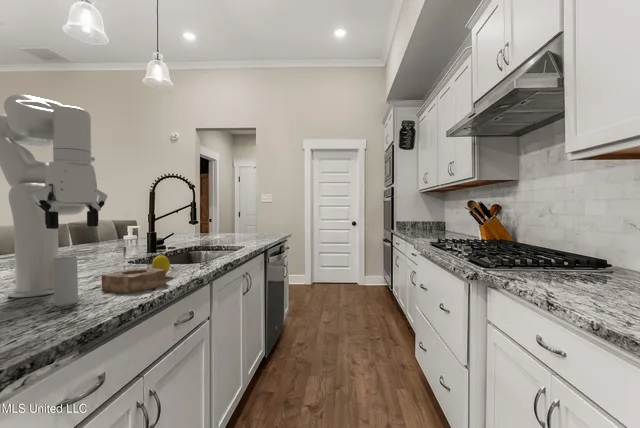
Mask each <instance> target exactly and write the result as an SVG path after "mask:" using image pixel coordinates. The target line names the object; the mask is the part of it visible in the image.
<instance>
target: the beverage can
mask: <svg viewBox="0 0 640 428" xmlns="http://www.w3.org/2000/svg"><path fill="white" fill-rule="evenodd" d="M53 258H54V259H53V288H54V293H53V304H54V306H56V307H68V306H73V305H75V304H77V303H78V302H79V285H78V284H79V282H78V281H79V280H78V279H79V278H78V258H77V255H76V254H65V255H59V256H55V257H53Z"/></svg>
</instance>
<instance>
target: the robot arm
mask: <svg viewBox="0 0 640 428" xmlns="http://www.w3.org/2000/svg"><path fill="white" fill-rule="evenodd" d="M3 109H4V111H5V113H6V114H2V113H0V169H1V171H2V174H3V175H4V177H5V180H6V182H7V183H8V185H9V186H10V187H11V188H10V189H9V191H8V203H9V207H10V211H11V215H12V221H13V239H14V264H15V265H14V269H15V270H14V271H15V279H14V280H12V284H13V285H15V289H12V290H9V291H8V292H7V296H8V297H10V298H15V299H18V298H19V299H20V298H31V297H41V296H46V295H52V294H54V288H53V259H54V258H53V257H55V256H60V253H59V249H60V248H59V231H58V229H59V216H74V215H79V214H81V213H83V212H84V210H85V209H86V208H87V209H88V210H87V211H86V226H88V227H99V212H100V211H102V208H103V207H104V206H105V204H106V200H107V199H108V194H107V193H105V192H104V191H101V190H99V189H98V183H97V177H96V176H97V175H96V171H95V167H94V165H92V162H95V161H96V159H95V157H94V156H93V155H92V127H91V126H92V124H91V123H92V121H91V120H92V119H91V115H90V113H89V112H88V111H87V110H86V109H83V108H80V107H77V106H71V105H63V104H61V103H60V102H57V101H53V100H51V99H50V100H49V99H45V98H40V97H36V96H32V95H27V94H22V93H21V94H12V95H9V96H8V97H7V98H6V99H5V100H4V102H3ZM23 145H26V146H34V147H44V148H45V147H49V146H50V147H51V145H52V161H50V162H44V161H38V160H37V159H36V157H35V156H34V154H33V153H32V152H31V151H30V150H29V149H27V148H26V147H24V146H23Z"/></svg>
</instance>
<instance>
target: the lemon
mask: <svg viewBox="0 0 640 428" xmlns="http://www.w3.org/2000/svg"><path fill="white" fill-rule="evenodd" d="M170 265H171V264H170V260H169V258H168V257H167V256H166V255H163V254H161V253H160V254H159V255H157V256H156V257H154V258H153V260H152V264H151V268H152V269H164V270H166V274H167V273H169V271H170V268H171V267H170Z"/></svg>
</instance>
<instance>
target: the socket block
mask: <svg viewBox="0 0 640 428" xmlns="http://www.w3.org/2000/svg"><path fill="white" fill-rule="evenodd" d="M166 276H167V273H166V270H164V269H152V267H148V268H147V267H146V268H145V267H144V268H142V267H134V268H130V269H123V270H117V271H114V272H113V271H112V272H110V273H105V274H101V291H105V292H111V293H120V294H121V293H124V294H126V293H128V294H134V293H139V292H142V291H147V290H150V289H154V288H157V287H159V286H163V285H166V284H167V277H166Z"/></svg>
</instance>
